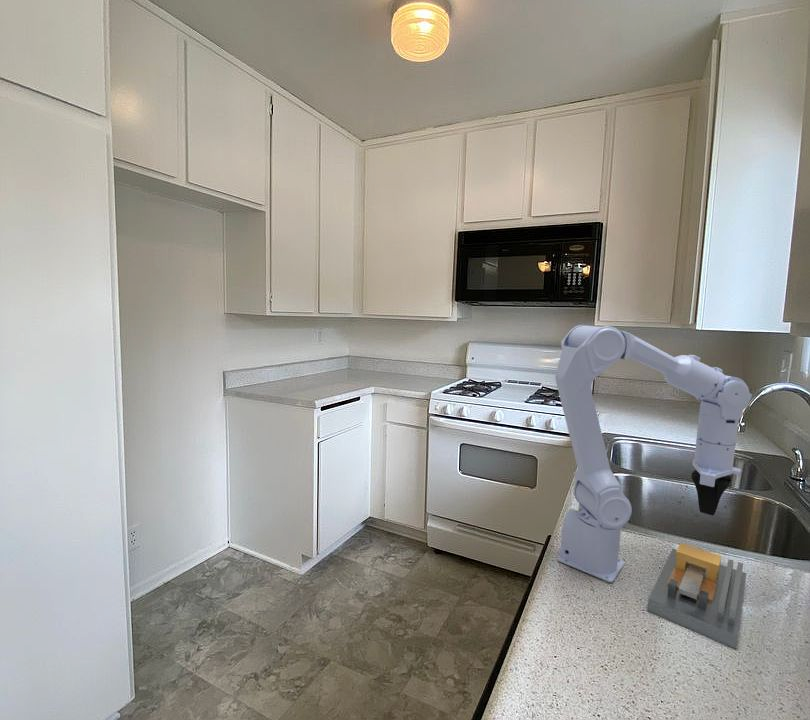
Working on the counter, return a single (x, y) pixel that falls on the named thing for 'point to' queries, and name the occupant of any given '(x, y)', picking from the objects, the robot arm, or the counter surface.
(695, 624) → the grey fixture base plate
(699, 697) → the counter surface
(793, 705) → the counter surface
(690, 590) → the strap
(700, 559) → the clip
